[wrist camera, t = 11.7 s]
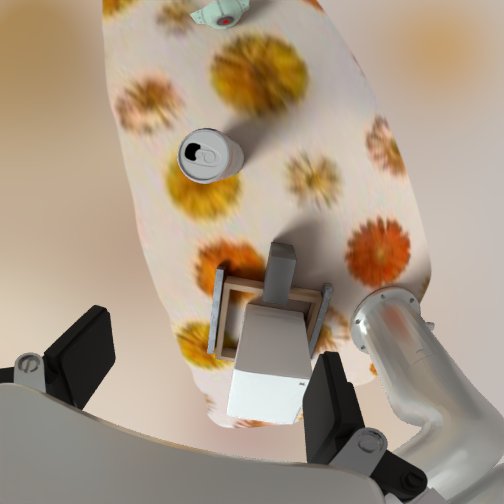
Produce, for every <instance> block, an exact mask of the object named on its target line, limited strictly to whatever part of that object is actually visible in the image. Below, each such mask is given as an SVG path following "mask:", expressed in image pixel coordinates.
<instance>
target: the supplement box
mask: <svg viewBox="0 0 504 504" xmlns="http://www.w3.org/2000/svg"><path fill="white" fill-rule="evenodd" d="M311 375H312V367H311V360H310V354H309V347H308V340H307V334H306V328H305V321H304V315H303V313H302V312H296V311H289V310H283V309H277V308H270V307H264V306H258V305H252V304H247V305H246V309H245V314H244V318H243V323H242V327H241V332H240V337H239V341H238V346H237V352H236V357H235V362H234V368H233V373H232V379H231V385H230V392H229V399H228V407H227V416H232V417H237V418H243V419H252V420H259V421H266V422H274V423H283V424H294V422H295V420H296V418H297V416H298V413H299V411H300V409H301V407H302V400H303V395H304V393H305V390H306V388H307V386H308V383H309V381H310V378H311Z"/></svg>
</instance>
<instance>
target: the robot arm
mask: <svg viewBox="0 0 504 504" xmlns="http://www.w3.org/2000/svg"><path fill="white" fill-rule="evenodd" d="M420 314H421V313H420V305H419V302H418V300H417V299H416V297H415V296H414V295H413V294H412V293H411V292H409V291H408V290H406V289H404V288H400V287H388V288H384V289H381V290H379V291H376V292H375V293H373V294H371V295H370V296H368V297H367V298H366V299H365V300H364V301H363V302H362V303H361V304H360V305H359V306H358V308H357V310H356V311H355V313H354V315H353V317H352V320H351V325H350V333H351V338H352V340H353V342H354V344H355V345H356V347H357V348H358V349H359V350H360V351H362V352H364V353H366V354H369V355H370V357H371V360H372V362H373V364H374V366H375V369H376V371H377V373H378V376H379V378H380V381H381V383H382V385H383V388H384V390H385V393H386V395H387V398H388V400H389V402H390V405H391V407H392V409H393V412H394V413H395V414H396V416H397V417H398V418H399V419H400V420H402V421H404V422H406V423H409V424H412V425H415V426H420V427H422V429H421V431H420V432H419V433H417V434H416V435H415V436H414V437H412V438H411V439H410V440H409V441H408V442H406V443H405V444H403V445H402V446H401V447H399V448H398V449H396V450H395V451H393V452H390V451H388V450H387V446H388V443H387V439H386V437H385V436H384V435H383V433H382V432H380V431H379V430H377V429H374V428H365V425H364V421H363V417H362V414H361V411H360V407H359V404H358V400H357V397H356V393H355V390H354V387H353V384H352V383H351V382H347V379H346V376H345V372H344V369H343V366H342V362H341V359H340V356H339V353H338V352H330V351H325V352H324V354H320V355H319V357H318V360H317V362H316V365H315V368H314V370H313V373H312V375H311V378H310V381H309V383H308V386H307V388H306V390H305V393H304V395H303V400H302V406H303V417H304V427H305V428H304V429H305V442H306V455H307V463H299V462H285V461H274V460H264V459H256V458H247V457H240V456H234V455H227V454H222V453H216V452H211V451H206V450H201V449H197V448H192V447H188V446H184V445H180V444H175V443H172V442H168V441H164V440H161V439H158V438H154V437H151V436H148V435H144V434H141V433H139V432H136V431H133V430H130V429H127V428H124V427H121V426H119V425H116V424H113V423H111V422H108V421H106V420H103V419H101V418H98V417H96V416H94V415H91V414H89V413H87V412H84V411H82V410H83V408H84V407H85V405H86V404H87V402H88V401H89V399H90V398H91V396H92V395H93V393H94V392H95V390H96V389H97V388H98V386H99V385H100V383H101V382H102V380H103V379H104V377H105V376H106V374H107V373H108V372H109V370H110V369H111V367H112V366H113V365H114V363H115V358H116V357H115V350H114V344H113V336H112V328H111V319H110V313H109V312H107V309H106V308H104V307H101V306H98V305H94V306H92V307H91V308H90V309H89V310H88V311H87V312H86V313H85V314H84V315H83V316H81V317H80V318H79V319H78V320H77V321H76V322H75V323H74V324H73V325H72V326H71V327H70V328H69V329H68V330H67V331H66V332H65V333H63V334H62V335H61V336H60V337H59V338H58V339H57V340H56V341H55V342H54V343H53V344H52V345H51V346H50V347H49V348H48V349H47V350H46V351H45V352H44V356H43V357H41V356H40V355H38V354H36V353H25V354H23V355H21V356H19V357H18V358H17V360H16V361H15V366H14V367H9V368H2V369H0V504H504V463H502V464H499V465H497V466H496V467H494V466H495V465H496V464H497V463H498V461H499V460H500V459H501V458H502V456H503V454H504V418H503V416H502V415H501V414H500V413H499V411H498V410H497V409H496V408H495V407H494V406H493V405H492V404H491V403H490V402H489V401H488V400H487V399H486V398H485V397H484V396H483V395H482V394H481V393H480V392H479V391H478V390H477V389H476V388H475V387H474V386H473V385H472V383H471V382H470V381H469V380H468V378H466V376H465V375H464V374H463V372H462V371H461V370H460V368H459V367H458V366H457V364H456V363H455V361H454V360H453V359H452V358H451V357H450V355H449V354H448V353H447V351H446V350H445V349H444V347H443V346H442V345H441V344H440V342H439V341H438V340H437V338H436V337H435V336H434V335H433V333H432V332H431V331H432V330H433V329H434V323H430V322H427V323H426V322H425V321H424V320H423V318H422V317H421V316H420ZM493 467H494V468H493Z"/></svg>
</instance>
